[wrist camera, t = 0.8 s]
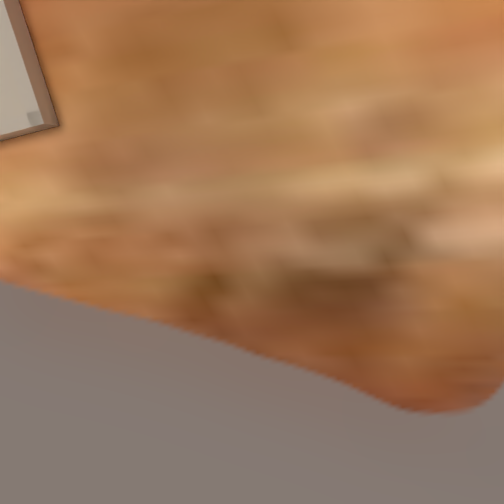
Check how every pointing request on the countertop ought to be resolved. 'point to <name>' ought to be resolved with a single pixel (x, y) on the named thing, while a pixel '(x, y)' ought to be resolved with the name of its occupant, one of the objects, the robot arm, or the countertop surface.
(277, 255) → the countertop surface
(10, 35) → the tray
